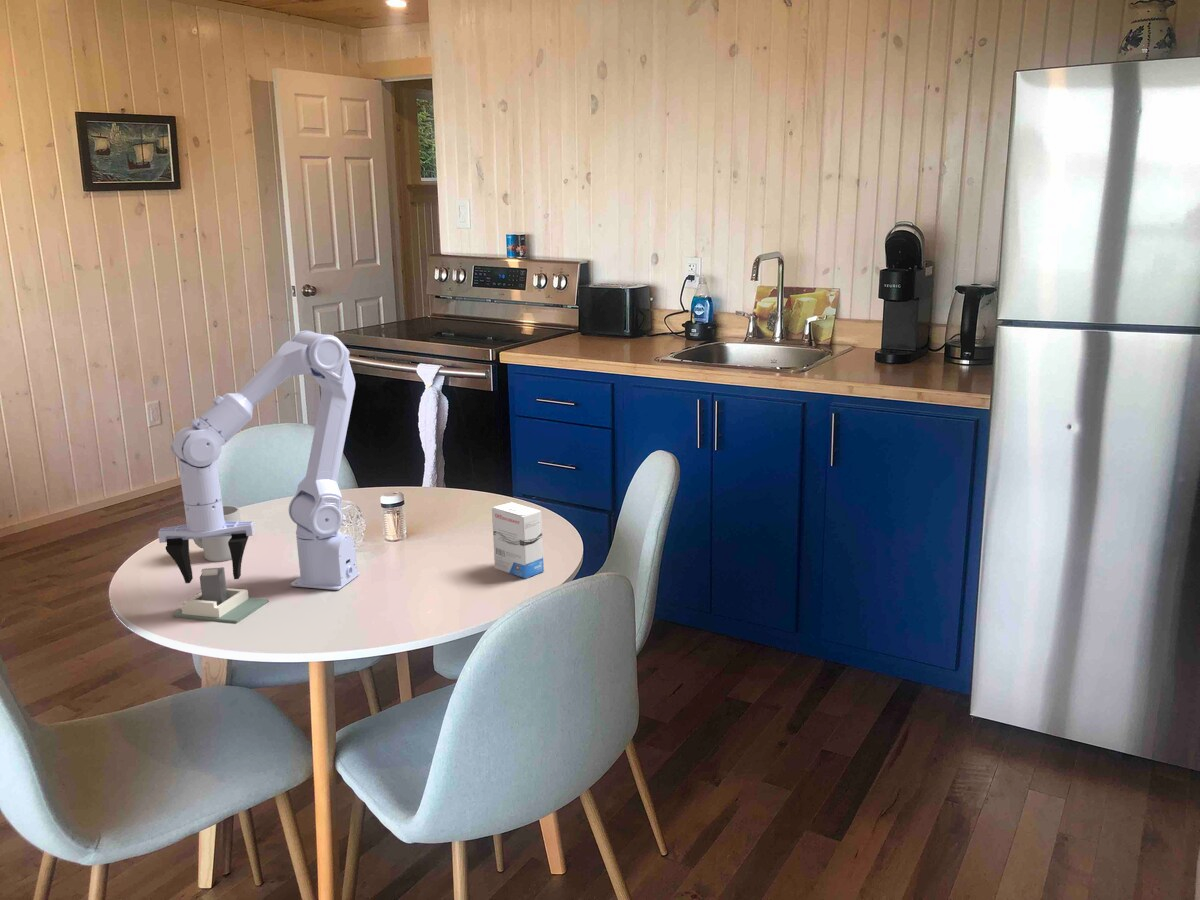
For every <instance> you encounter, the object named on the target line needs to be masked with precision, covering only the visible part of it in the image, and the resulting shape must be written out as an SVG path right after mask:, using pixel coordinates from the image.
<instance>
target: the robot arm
mask: <svg viewBox="0 0 1200 900" xmlns="http://www.w3.org/2000/svg"><path fill="white" fill-rule="evenodd" d="M350 354H351V352H350V350H349V349H348V348H347V347H346V345H345V344H344V343H343V342H342V341H341V340H340V339H339V338H338V337H337V336H335V335H333V334H322V333H317V332H315V331H312V330H301V331H298V332H297V333H295V335H293V336H292V338H291V339H290V340H287V341H285V343H283V344H282V345H281V346H280V348H279V349H278V350H277V352H276V353H275V354H274V355H273V356H272V357H271V358H270V359H269V360H268V361H267V362H266V363H265V364H264V365H263V366H262V367H261V369H259V370H258V371H257V372H256V373H255V374H254V375H253V376H252V378H250V379H249V380H248V381H247V383H246V384H245V385H244V386H243V387H242V388H241V389H239V390H238V392H235V393H234V392H233V393H229V392H226V393H225V394H223V395H222V396H220V395H217V396H216V397H214V398H213V399H212V403H213V404H212V405H211V406H210V407H209V408H208V409H207V410H206V411H205V412H203V414H201V415H200V416H199V417H198V418H195V417H194V418H193V419H192V420H191V421H190V423H191V425H192V426H187V427H183V428H181V429H180V430H178V431H177V433H176V434H175V435H174V436H173V440H172V444H171V445H170V449H171V452H172V454H173V455H174V456H175V458H177V459H178V466H179V467H178V468H179V472H180V473H179V474H180V475H179V478H180V486H181V492H182V500H183V506H184V513H185V521H186V524H181V525H175V526H168V527H161V528H160V529H159V530H158V531H157V535H158V541H159V543H160V544H162V543H166V546H165V550H166V553H167V554H168V555H169V556H170V557H171V558H172V559H173V562H175V564H176V565H177V567H178V569H179V571H180V573H181V575H182V577H183V579H184V583H185V584H190V583H191V582H192V580H193V579H194V578H193V568H192V564H191V559H190V557H191V556H190V543H189V541H190V540H193V539H200V538H213V537H227V536H232V537H231V538H230V540H229V542H228V545H229V549H230V553H231V557H232V560H231V564H232V575H233V579H234V580H239V579H240V577H241V576H242V563H243V557H244V551H245V548H246V546H247V542H248V540H249V537H252V536H254V534H255V532H256V530H255V522H254V521H250V520H249V521H241V520H240V521H224V513H223V506H224V505H223V498H222V490H221V484H220V475H219V470H218V466H217V461H218V459H219V457H220V456H221V454H222V453H221V452H222V447H223V446H225V445H226V444H227V443H228V442H229V441H230V440H231V439H232V438H233V437H234V436H235V435H236V434H237V433H238V432H239V431H240V430H241V429H243V428H244V426H246V425H247V424H248V423H249V422H250V421H252V419H253V414H254V412H253V411H254V407H256V405H257V404H259V403H260V402H262V400H263V399H264V398H266V397H267V396H269V395H270V394H271V393H272V392H273V391H274V390H275V389H276V388H278V387H279V386H280V385H281V384H282V383H284V382H285V381H286V380H287V379H288V378H290V377H295V376H302V375H310V374H311V376H312V377H313V379H314V380H315V381H316V382H317V383H318V385H319V387H320V388H321V395H320V399H319V405H318V410H317V411H318V412H317V415H316V421H315V427H314V432H313V438H312V442H311V448H310V453H309V459H308V463H307V468H306V474H305V477H304V478H303V479H302V480H301V481H300V482H299V483H298V485H297V490H296V492H295V494H294V496H293V497H292V499H291V500H290V502H289V505H288V515H289V517H290V519H291V521H292V522H293V523H294V524H296V531H295V535H296V546H297V548H296V549H297V555H298V556H297V557H298V565H299V567H298V568H299V577H298V578H297V579H295V580H293V581H292V582H290V586H291V587H299V588H311V589H321V590H323V589H324V590H333V591H338V590H341V589H342V588H343V587H345V586H346V585H347V584H349V583H350V582H352V581H353V580H354V579H356V578H357V577H358V576H359V575H360V574H361V573H360V571H358V566H357V552H356V544H355V540H354V538H353V536H351V535H349V534H345V533H343V532H341V531H339V529H340V528H341V527H342V524H343V521H344V515H343V514H344V512H343V509H342V499H343V496H342V493H341V490H340V488H339V485H338V478H339V474H340V468H341V463H342V459H343V453H344V448H345V442H346V438H347V437H346V436H347V431H348V427H349V422H350V417H351V416H350V415H351V411H352V407H353V402H354V401H353V400H354V396H355V390H356V380H355V376H354V373H353V372H354V371H353V369H352V367H351V363H350V360H349V359H350Z"/></svg>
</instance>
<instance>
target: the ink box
mask: <svg viewBox="0 0 1200 900" xmlns="http://www.w3.org/2000/svg"><path fill="white" fill-rule="evenodd" d="M491 516H492V521H491V522H492V534H493V536H492V537H493V555H494V556H493V557H494V558H493V560H494V569H496V570H498V571H503V572H505V573H508V574H510V575H514V576H517V577H520V578H522V579H529V578H530V577H533V576H536V575H538V574H540V573H543V572H545V569H544V548H543V547H544V545H543V544H544V542H543V522H542V518H543V517H542V510H539V509H536V508H533V507H529V506H526V505H522V504H518V503H517V502H513V501H512V502H508V503H504V504H500V505H496V506H493V507H491Z"/></svg>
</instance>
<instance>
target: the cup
mask: <svg viewBox="0 0 1200 900" xmlns="http://www.w3.org/2000/svg"><path fill="white" fill-rule="evenodd" d="M223 513H224V521H241V513H240V508H239V507H238V506H236V505H235V506H234V505H223ZM231 537H232V536H227V537H213V538H200V539H192V540H193V542H194V544H195V545H196V546H197V547H199V548H201V549H203V550H202V551H203V555H204V559H206V560H207V561H210V562H214V563H215V562H218V563H219V562H227V561H232V557H231V553H230V549H229V545H228V542H229V540H230V538H231Z"/></svg>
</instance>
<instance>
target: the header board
mask: <svg viewBox="0 0 1200 900" xmlns="http://www.w3.org/2000/svg"><path fill="white" fill-rule="evenodd" d="M226 588H227V596H228V600H226V601H224V602H223V603H221V604H220V605H218V606H217V602H216V601H205V600H202V592H200V593H197V594H196V595H193V596H192V597H190V598H187V599H185V600H184V602H183V603H182V604H180V607H181V609H179V610H177V611H176V612H174V613H172V615H171V616H172V618H182V619H189V620H190V619H191V620H200V621H201V620H202V621H203V620H204V621H212V622H213V621H214V622H220V623H221V622H223V623H225V622H226V623H231V624H232V623H233V624H238V623H239V622H240V621H242V620H244V619H245V618H246V617H248V616H250V615H251V614H253V613H254V612H256V610H258V609H260V608H261V607H263V606H264V605H266V604H267V603H269V599H268V598H259V597H249V591H248V589H242V588H241V589H240V588H231V587H230V588H228V587H226Z"/></svg>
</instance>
